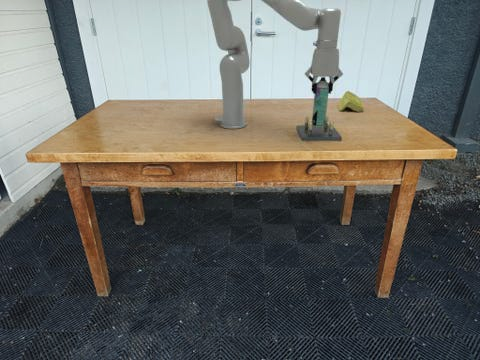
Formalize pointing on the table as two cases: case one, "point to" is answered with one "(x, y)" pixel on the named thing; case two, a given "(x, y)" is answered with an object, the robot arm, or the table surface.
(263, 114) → the table surface
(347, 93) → the plastic component
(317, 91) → the spray can
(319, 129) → the post plate
